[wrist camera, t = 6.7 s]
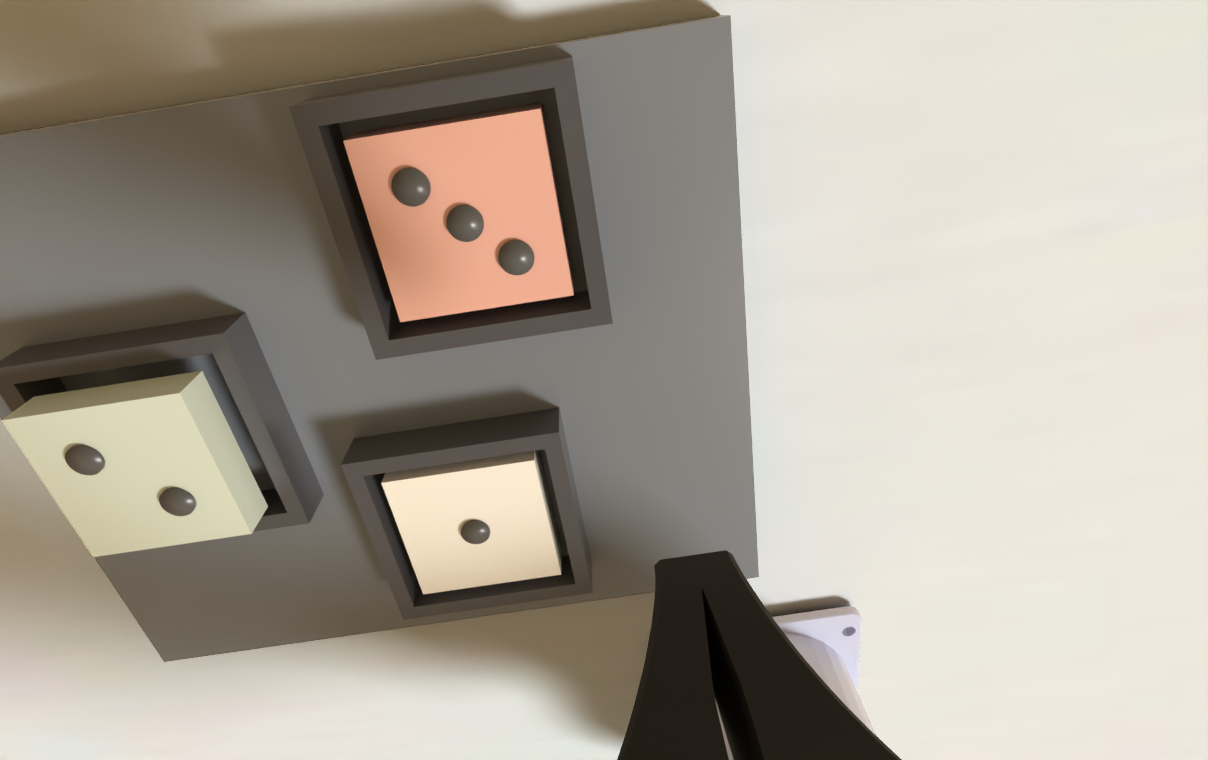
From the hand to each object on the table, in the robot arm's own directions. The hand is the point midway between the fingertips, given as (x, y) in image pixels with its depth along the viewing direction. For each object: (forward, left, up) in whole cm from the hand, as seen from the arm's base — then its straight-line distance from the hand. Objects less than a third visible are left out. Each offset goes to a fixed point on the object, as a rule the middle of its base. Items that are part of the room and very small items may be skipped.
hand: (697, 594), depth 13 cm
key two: (+1, +14, -7) cm, 16 cm away
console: (0, +8, -10) cm, 13 cm away
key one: (-4, +6, -9) cm, 11 cm away
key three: (+5, +4, -9) cm, 11 cm away
